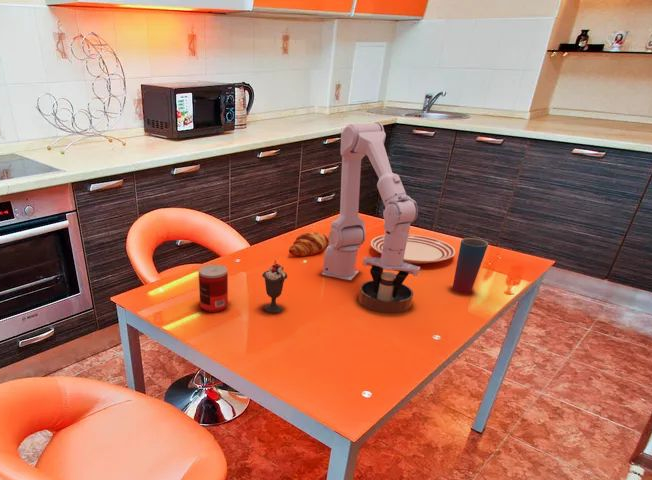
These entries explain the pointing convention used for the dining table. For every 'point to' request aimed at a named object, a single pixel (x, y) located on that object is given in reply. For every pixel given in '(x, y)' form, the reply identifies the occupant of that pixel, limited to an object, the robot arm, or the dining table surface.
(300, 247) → the croissant
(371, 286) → the pan
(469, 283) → the cup
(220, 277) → the canned food
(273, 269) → the sundae
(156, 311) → the dining table surface
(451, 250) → the dinner plate
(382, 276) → the beige cylinder
